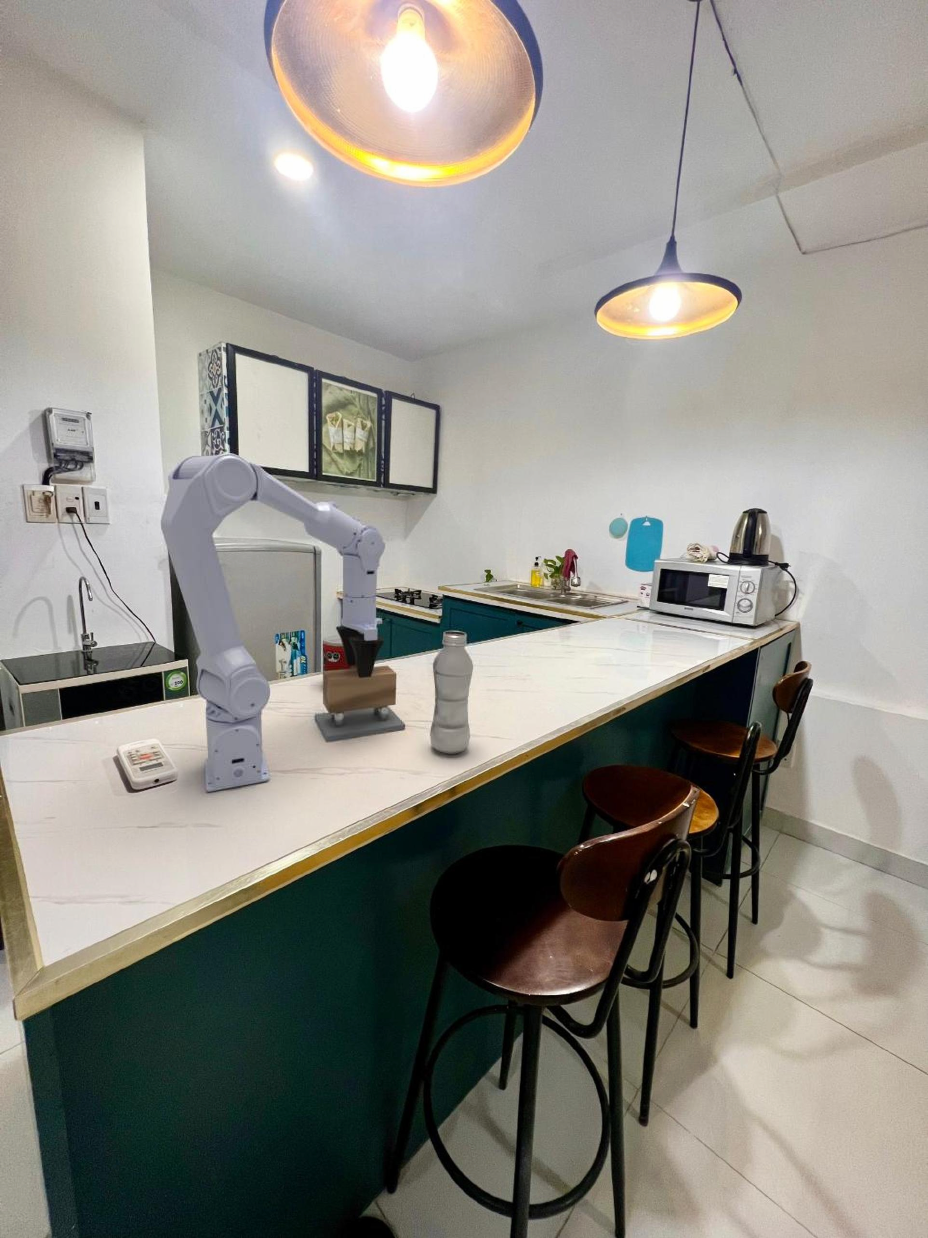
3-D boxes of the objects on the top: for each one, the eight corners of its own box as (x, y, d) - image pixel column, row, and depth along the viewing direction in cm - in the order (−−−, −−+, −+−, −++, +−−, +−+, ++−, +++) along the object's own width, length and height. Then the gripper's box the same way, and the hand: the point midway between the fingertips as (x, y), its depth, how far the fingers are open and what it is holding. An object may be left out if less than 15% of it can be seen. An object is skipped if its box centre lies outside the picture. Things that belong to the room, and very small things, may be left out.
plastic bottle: (465, 761, 78) (472, 640, 74) (424, 755, 79) (429, 635, 75) (472, 744, 84) (479, 631, 80) (434, 738, 85) (439, 627, 81)
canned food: (320, 682, 110) (320, 635, 108) (355, 679, 114) (356, 633, 111) (325, 694, 103) (325, 644, 101) (363, 690, 107) (364, 642, 105)
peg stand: (405, 729, 88) (405, 708, 88) (326, 742, 82) (326, 719, 81) (386, 709, 97) (387, 690, 96) (314, 719, 90) (314, 699, 90)
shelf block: (395, 704, 89) (396, 673, 88) (329, 713, 84) (329, 680, 82) (386, 695, 93) (387, 665, 92) (322, 703, 88) (322, 671, 87)
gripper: (395, 601, 80) (393, 680, 83) (369, 588, 93) (368, 657, 95) (353, 602, 77) (352, 684, 80) (332, 589, 89) (331, 660, 92)
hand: (358, 670), depth 87 cm, fingers open, 7 cm apart
